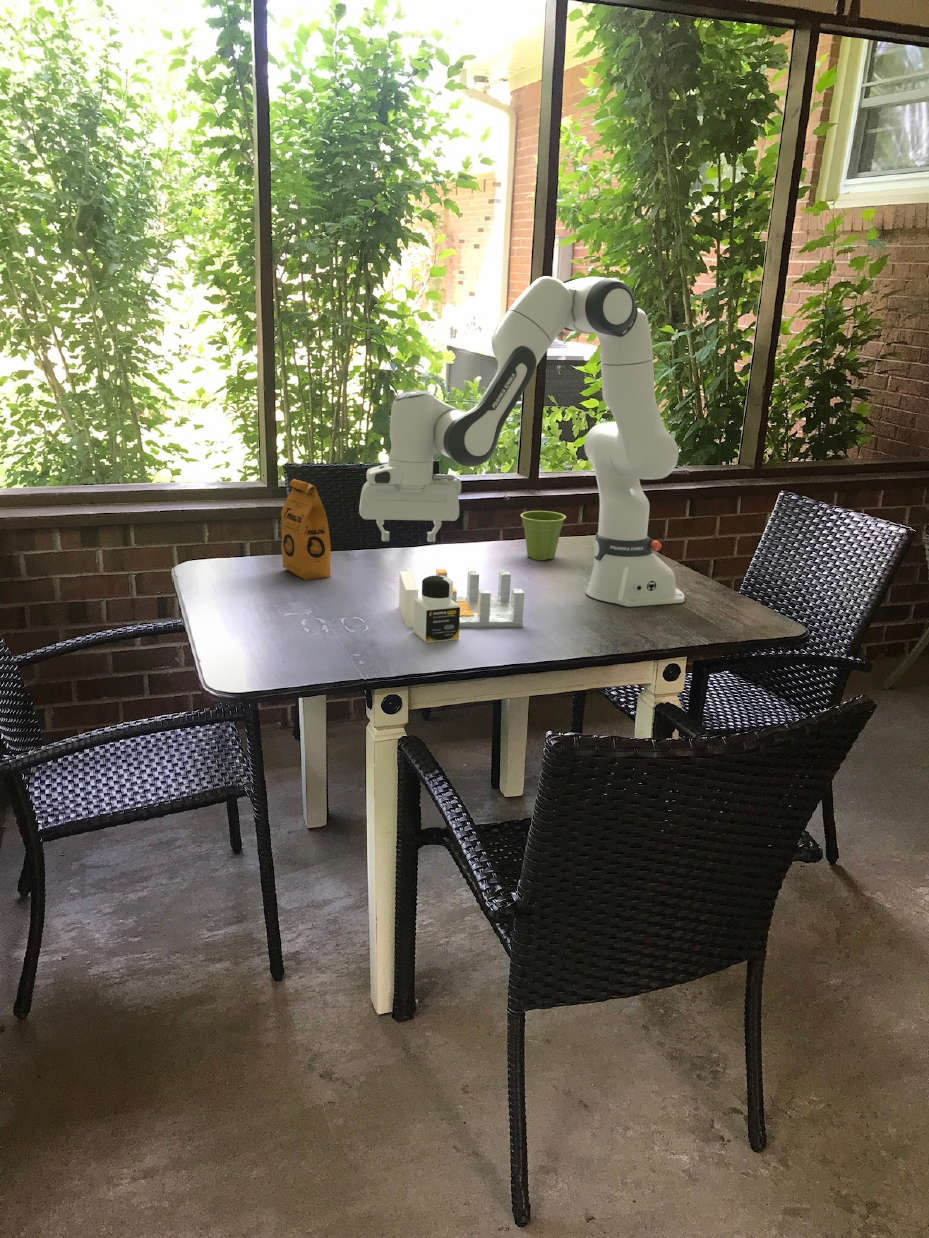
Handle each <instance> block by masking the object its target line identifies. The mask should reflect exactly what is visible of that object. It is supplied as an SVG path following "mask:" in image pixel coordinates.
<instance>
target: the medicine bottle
mask: <svg viewBox="0 0 929 1238" xmlns="http://www.w3.org/2000/svg"><path fill="white" fill-rule="evenodd" d="M453 587H454V582H453V579H451V578H449V577H448V576H447V577H445V576H436V575H429V576H427V577H424V578H423V579H422V581H421V597H418V598H416V599H414V625H413V627H412V628H413V630H412V631H413V633H414V634H415V635H417V636H418V637H419V638H420V639H421V640H422V641H423V642H425V643H426V644H427V643H428V644H431V643H439V642H449V641H456V640H457V641H458V640H459V639H460V628H459V623H460V606H459V605H458V604H457V603H455V602H454V601H453V600H451V599H452V597H453Z"/></svg>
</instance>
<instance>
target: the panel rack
mask: <svg viewBox="0 0 929 1238" xmlns="http://www.w3.org/2000/svg"><path fill="white" fill-rule="evenodd" d="M435 572H436V573H435V574H436V575H435V576H445V577H448V571H447V570H446V569H444V568H442V569H437V568H436V571H435ZM511 575H512V574H511V572H509V570H499V571H498V587H497V588H498V589H497V591H498V592H497V595H495V596H494V595H493V596H492V595H491V591H490V590H489V588H479V587H480V574H479V572H478V571H477V570H467V584H466V585H467V586H466V587H467V588H466V596H457V593H458V591H457V590H456V587H454V586H453V597H452V599H451V600H453V601H454V602H455V603H457V604H458V605H459V606H460V623H459V629H475V628H477V629H480V628H487V629H489V628H524V627H523V626H524V621H523V620H524V607H525V606H524V604H525V592H524V591H523V589H522V588H511V578H512V577H511ZM510 594H511V596H510ZM510 597H511V598H510Z"/></svg>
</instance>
